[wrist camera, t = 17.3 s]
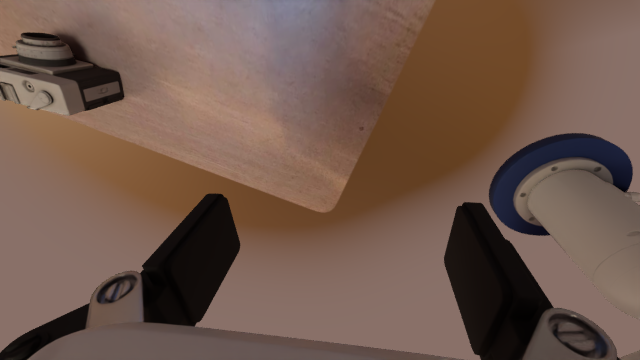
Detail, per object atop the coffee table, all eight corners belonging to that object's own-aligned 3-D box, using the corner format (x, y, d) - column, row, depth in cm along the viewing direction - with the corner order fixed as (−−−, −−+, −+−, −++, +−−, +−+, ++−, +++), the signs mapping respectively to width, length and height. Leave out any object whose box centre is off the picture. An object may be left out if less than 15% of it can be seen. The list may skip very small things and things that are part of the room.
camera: (114, 45, 39) (45, 52, 30) (125, 100, 43) (67, 120, 35) (24, 23, 39) (-70, 24, 31) (44, 80, 43) (-34, 95, 35)
